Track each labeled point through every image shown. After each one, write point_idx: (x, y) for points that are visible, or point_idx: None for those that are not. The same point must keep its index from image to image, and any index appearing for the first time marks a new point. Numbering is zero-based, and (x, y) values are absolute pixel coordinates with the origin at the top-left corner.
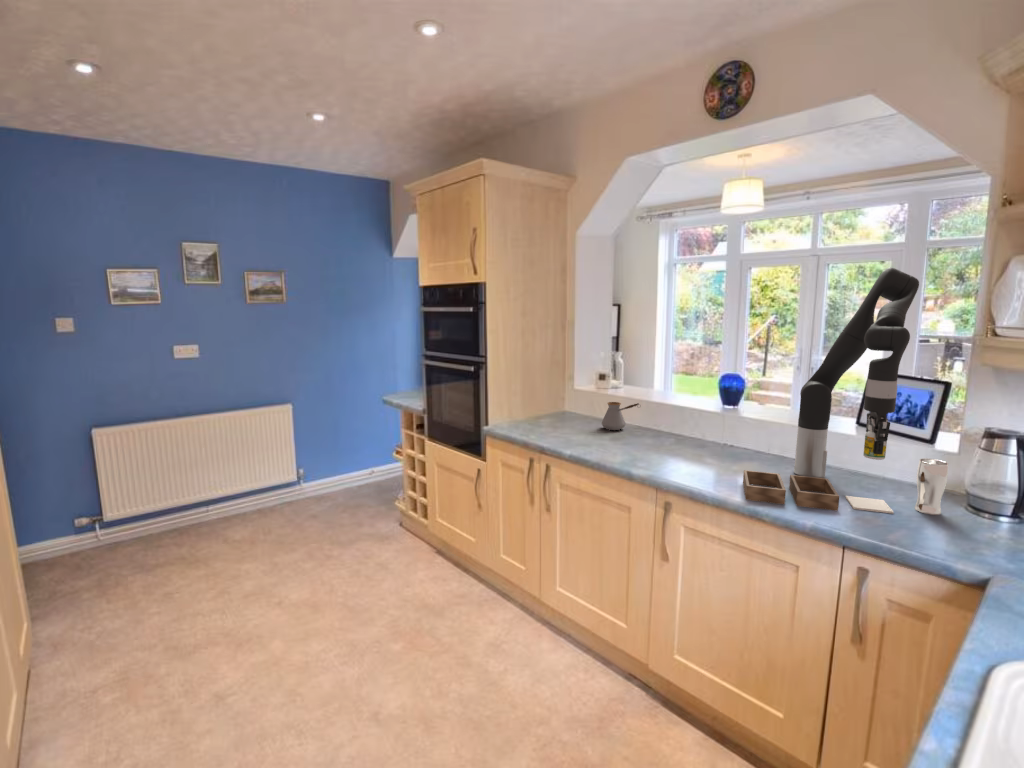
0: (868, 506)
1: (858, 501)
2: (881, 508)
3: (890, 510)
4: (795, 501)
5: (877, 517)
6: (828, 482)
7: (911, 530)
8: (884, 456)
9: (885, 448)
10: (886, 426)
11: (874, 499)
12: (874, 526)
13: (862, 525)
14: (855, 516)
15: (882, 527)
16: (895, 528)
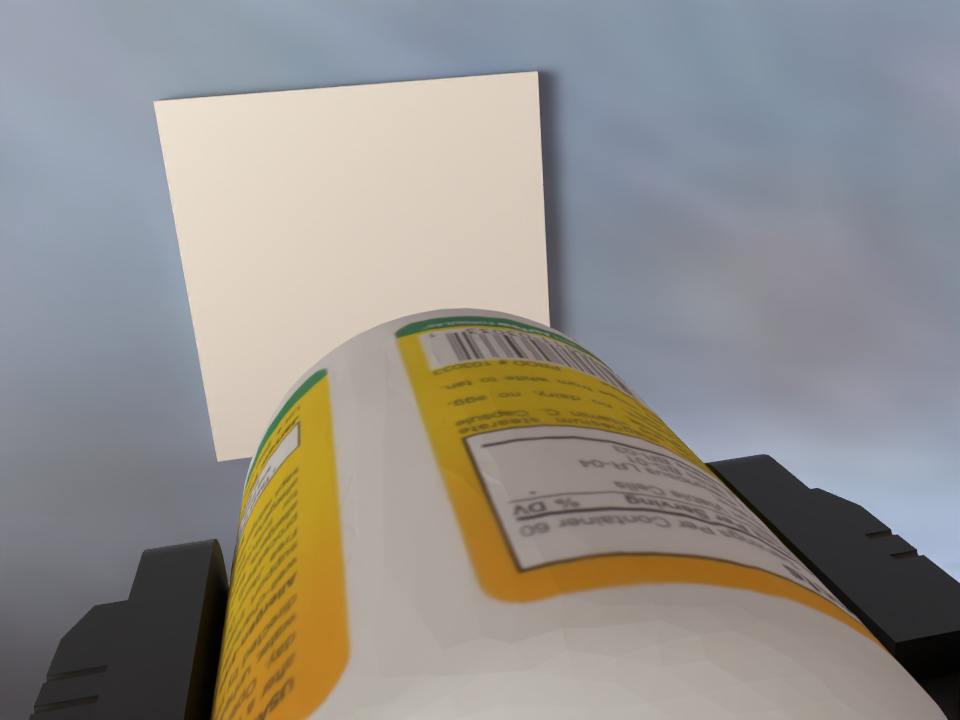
0: (475, 286)
1: None
2: (486, 174)
3: (512, 96)
4: None
5: (694, 235)
6: None
7: (922, 7)
8: (587, 350)
9: (644, 420)
10: None
11: (193, 196)
12: (914, 288)
13: (918, 371)
14: (734, 403)
15: (919, 232)
16: (912, 133)
